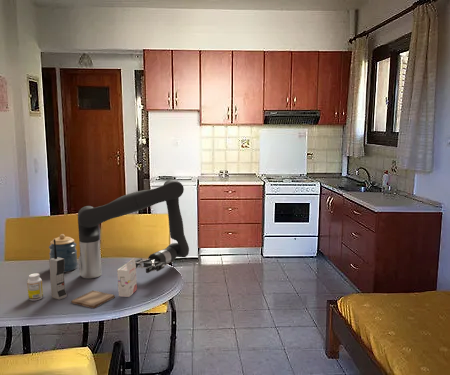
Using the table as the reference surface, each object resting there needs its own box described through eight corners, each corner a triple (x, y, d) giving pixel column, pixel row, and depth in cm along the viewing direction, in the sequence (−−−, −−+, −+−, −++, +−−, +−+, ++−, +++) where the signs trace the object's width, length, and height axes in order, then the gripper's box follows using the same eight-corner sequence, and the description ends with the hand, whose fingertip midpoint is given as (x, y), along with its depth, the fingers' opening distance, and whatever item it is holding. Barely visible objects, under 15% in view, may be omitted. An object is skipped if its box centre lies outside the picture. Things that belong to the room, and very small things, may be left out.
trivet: (71, 302, 174) (71, 300, 174) (92, 292, 185) (92, 290, 184) (94, 308, 169) (93, 305, 168) (114, 297, 179) (114, 294, 179)
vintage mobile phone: (59, 300, 177) (55, 241, 173) (51, 297, 179) (47, 239, 176) (66, 297, 180) (63, 239, 176) (59, 294, 183) (55, 237, 179)
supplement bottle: (36, 295, 182) (34, 271, 181) (46, 297, 180) (44, 273, 179) (25, 299, 177) (23, 276, 176) (35, 302, 175) (33, 277, 174)
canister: (82, 265, 221) (81, 231, 219) (68, 273, 209) (66, 238, 206) (60, 263, 224) (58, 230, 222) (44, 271, 212) (42, 236, 209)
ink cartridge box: (126, 289, 188) (125, 256, 186) (137, 289, 187) (135, 257, 185) (117, 296, 180) (116, 262, 178) (129, 297, 179) (127, 263, 177)
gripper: (147, 249, 207) (125, 259, 192) (172, 253, 200) (151, 263, 186) (147, 264, 208) (126, 275, 193) (172, 268, 201) (152, 280, 187)
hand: (138, 269), depth 190 cm, fingers open, 8 cm apart
